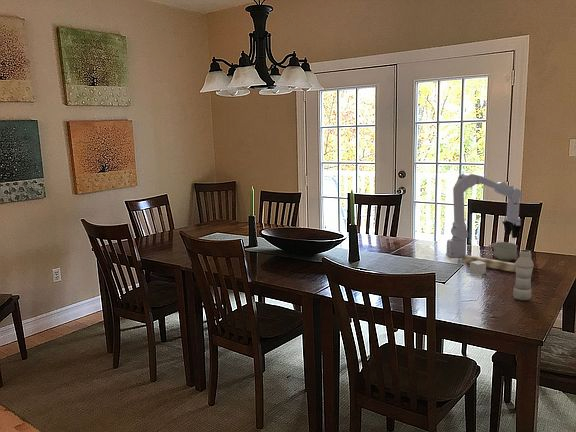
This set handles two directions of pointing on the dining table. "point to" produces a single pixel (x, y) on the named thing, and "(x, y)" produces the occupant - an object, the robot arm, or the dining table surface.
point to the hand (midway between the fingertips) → (511, 236)
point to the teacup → (504, 250)
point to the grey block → (477, 267)
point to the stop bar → (490, 263)
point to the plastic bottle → (523, 276)
